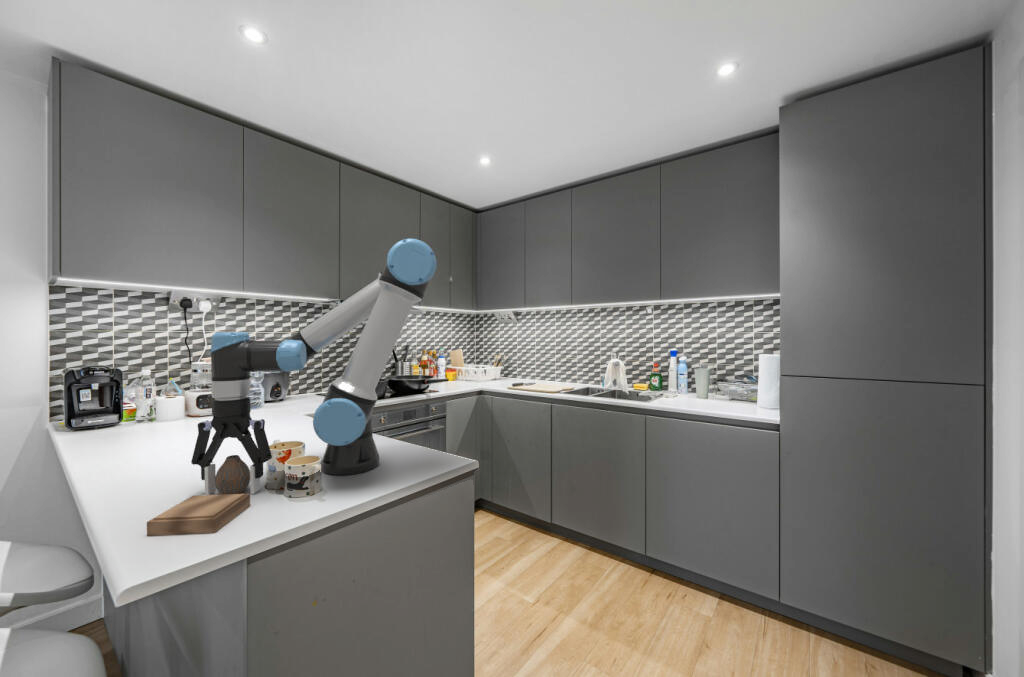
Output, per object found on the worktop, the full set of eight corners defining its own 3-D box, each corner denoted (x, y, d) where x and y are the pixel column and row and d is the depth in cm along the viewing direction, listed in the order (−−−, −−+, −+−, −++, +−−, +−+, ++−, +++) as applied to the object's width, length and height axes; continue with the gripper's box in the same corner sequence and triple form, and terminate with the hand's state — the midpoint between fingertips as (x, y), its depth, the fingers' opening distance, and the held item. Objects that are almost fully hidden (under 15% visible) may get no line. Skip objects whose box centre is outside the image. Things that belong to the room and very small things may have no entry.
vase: (253, 493, 96) (253, 456, 96) (217, 501, 92) (217, 463, 92) (247, 485, 101) (246, 450, 101) (213, 493, 97) (212, 456, 97)
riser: (250, 506, 89) (249, 492, 89) (214, 532, 77) (214, 517, 77) (191, 508, 88) (191, 494, 88) (147, 535, 76) (146, 520, 76)
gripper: (287, 394, 101) (288, 484, 101) (192, 396, 99) (194, 488, 99) (272, 399, 93) (273, 496, 94) (169, 401, 91) (171, 500, 92)
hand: (232, 492), depth 96 cm, fingers open, 9 cm apart
